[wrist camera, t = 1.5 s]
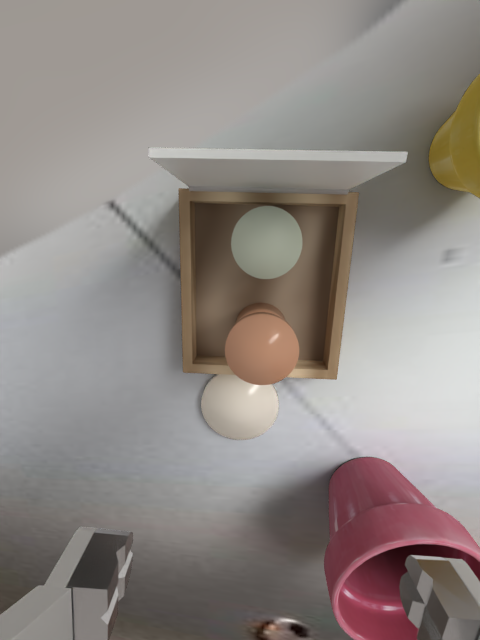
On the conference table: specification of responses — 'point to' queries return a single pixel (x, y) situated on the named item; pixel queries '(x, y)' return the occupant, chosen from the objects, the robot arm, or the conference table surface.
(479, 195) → the plant pot
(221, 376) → the cream disc
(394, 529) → the plant pot
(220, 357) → the brown wooden tray
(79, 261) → the conference table surface
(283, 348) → the peach mushroom knob
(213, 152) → the propped lid
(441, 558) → the robot arm
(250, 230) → the sage pot
